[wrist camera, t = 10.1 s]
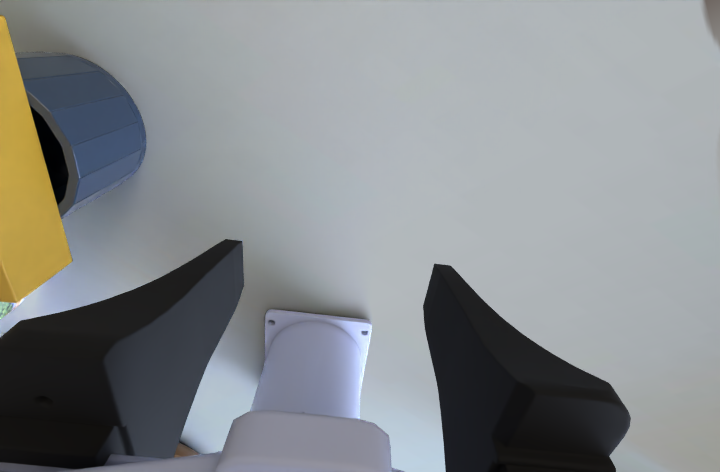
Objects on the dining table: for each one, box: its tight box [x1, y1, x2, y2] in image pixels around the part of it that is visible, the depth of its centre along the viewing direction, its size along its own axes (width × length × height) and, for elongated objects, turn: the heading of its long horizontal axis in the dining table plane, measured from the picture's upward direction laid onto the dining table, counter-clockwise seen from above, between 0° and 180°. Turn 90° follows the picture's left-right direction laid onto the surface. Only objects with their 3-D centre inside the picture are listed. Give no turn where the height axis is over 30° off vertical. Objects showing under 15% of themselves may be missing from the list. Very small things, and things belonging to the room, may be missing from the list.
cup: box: [15, 52, 146, 219], centre depth 19 cm, size 8×8×6 cm
